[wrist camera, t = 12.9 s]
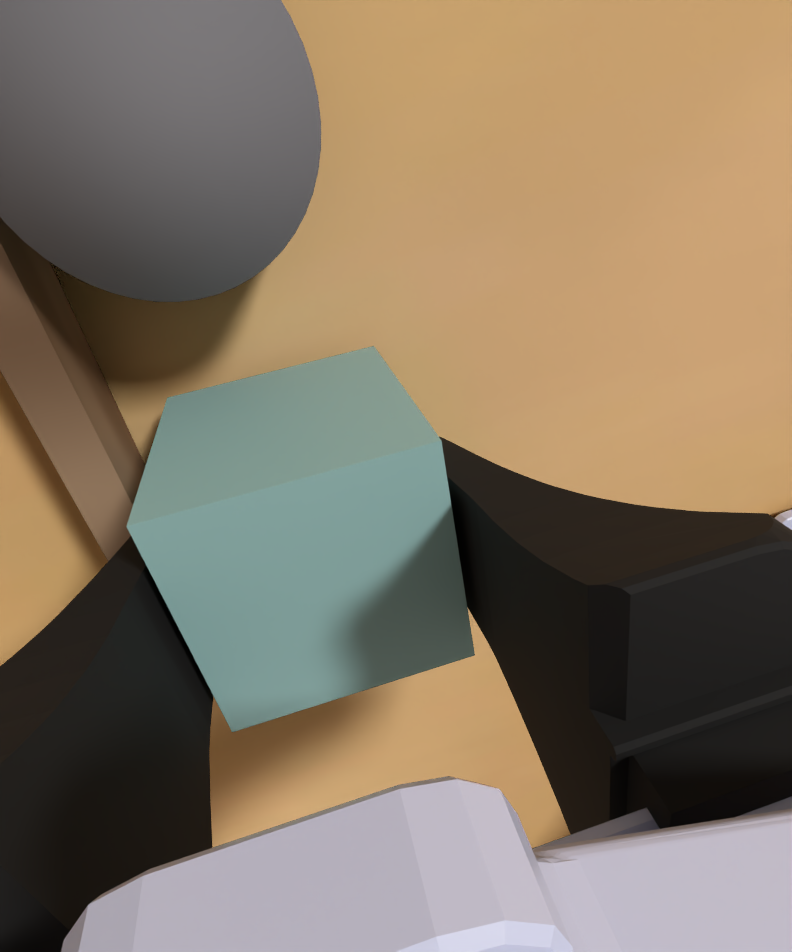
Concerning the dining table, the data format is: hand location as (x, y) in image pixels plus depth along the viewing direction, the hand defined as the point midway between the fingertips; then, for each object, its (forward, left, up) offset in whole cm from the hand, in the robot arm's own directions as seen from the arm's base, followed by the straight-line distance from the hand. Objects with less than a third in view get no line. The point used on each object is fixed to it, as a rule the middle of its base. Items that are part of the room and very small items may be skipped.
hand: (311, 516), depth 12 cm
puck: (+7, +1, -3) cm, 8 cm away
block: (0, 0, -2) cm, 2 cm away
